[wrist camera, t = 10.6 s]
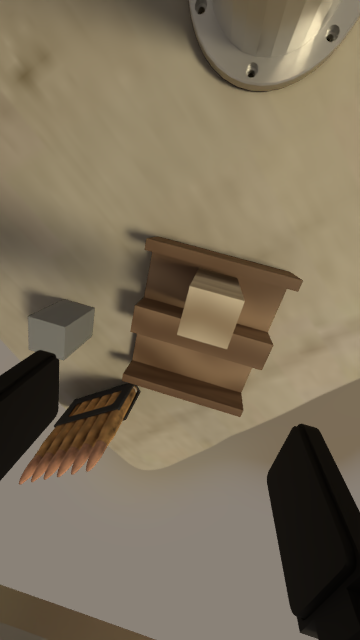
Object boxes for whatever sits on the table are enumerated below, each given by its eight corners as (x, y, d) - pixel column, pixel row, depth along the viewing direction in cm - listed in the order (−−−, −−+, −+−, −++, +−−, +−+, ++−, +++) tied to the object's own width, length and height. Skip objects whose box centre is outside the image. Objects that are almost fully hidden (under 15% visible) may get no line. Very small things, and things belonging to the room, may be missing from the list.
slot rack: (157, 236, 25) (146, 238, 21) (290, 272, 24) (303, 280, 20) (133, 362, 31) (121, 380, 27) (237, 393, 30) (240, 416, 26)
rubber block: (64, 298, 29) (27, 316, 24) (94, 307, 29) (65, 327, 23) (63, 327, 31) (28, 349, 25) (92, 335, 30) (63, 360, 25)
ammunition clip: (80, 409, 36) (18, 491, 25) (74, 399, 35) (7, 479, 24) (141, 391, 33) (100, 476, 22) (134, 381, 32) (89, 462, 21)
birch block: (199, 267, 24) (189, 285, 17) (237, 277, 24) (244, 301, 16) (189, 303, 26) (176, 334, 18) (225, 313, 25) (227, 349, 18)
